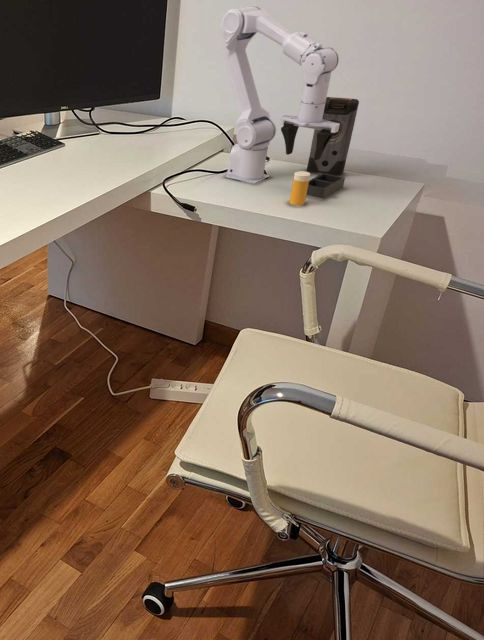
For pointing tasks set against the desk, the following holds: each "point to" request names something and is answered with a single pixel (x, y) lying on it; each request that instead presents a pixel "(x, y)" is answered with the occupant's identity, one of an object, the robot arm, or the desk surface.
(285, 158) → the desk surface
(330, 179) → the organizer
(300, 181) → the pill bottle
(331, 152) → the electronic device
